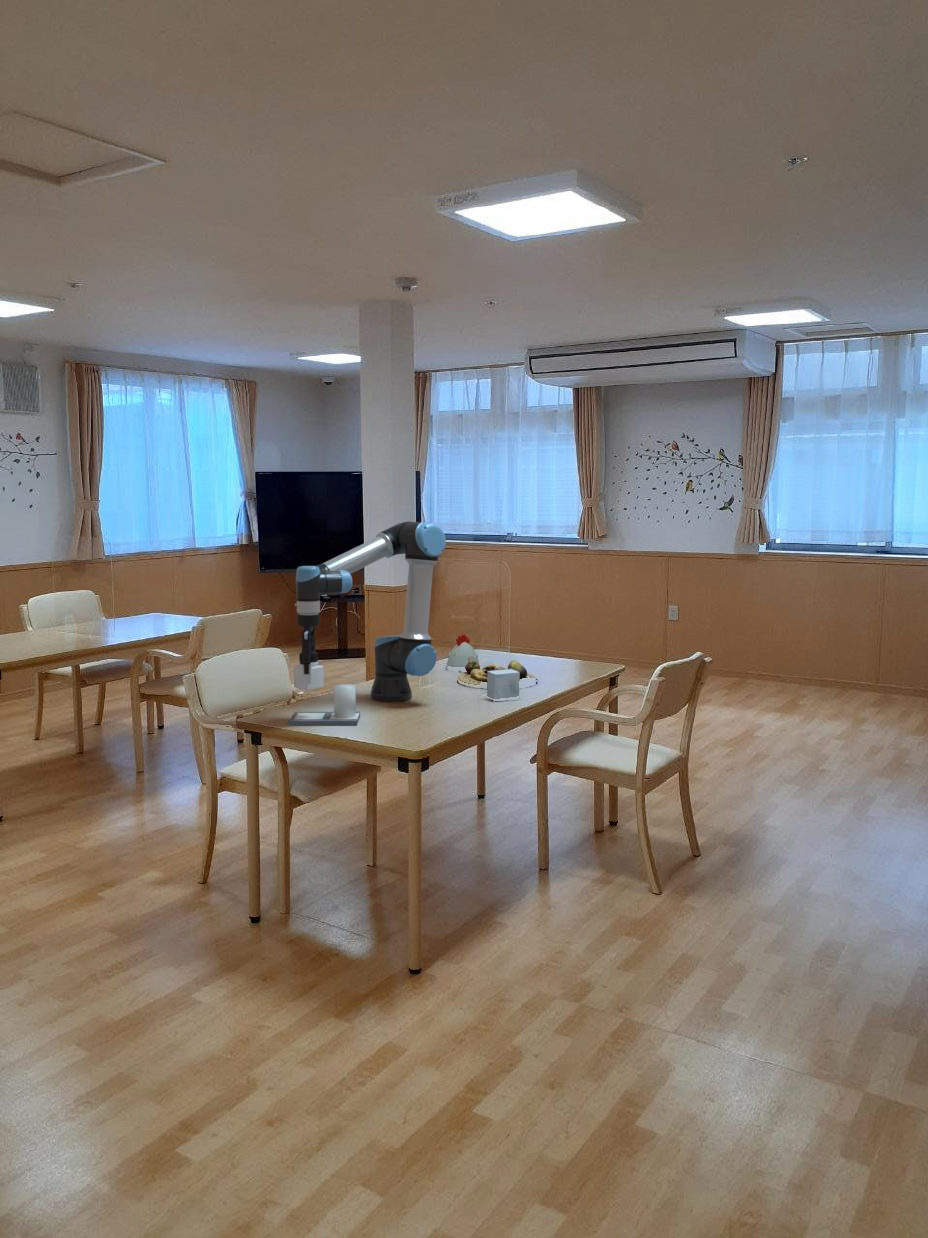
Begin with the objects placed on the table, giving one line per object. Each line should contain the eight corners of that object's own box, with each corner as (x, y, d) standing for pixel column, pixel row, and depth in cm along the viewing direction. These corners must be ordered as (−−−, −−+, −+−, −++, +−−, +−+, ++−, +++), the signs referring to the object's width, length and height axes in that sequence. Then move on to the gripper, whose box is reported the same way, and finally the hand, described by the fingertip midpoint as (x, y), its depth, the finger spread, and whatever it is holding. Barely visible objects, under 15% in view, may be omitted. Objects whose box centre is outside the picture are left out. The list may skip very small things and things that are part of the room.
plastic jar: (356, 713, 339) (356, 684, 338) (354, 718, 332) (354, 688, 331) (335, 713, 339) (335, 683, 338) (332, 717, 332) (332, 687, 331)
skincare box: (494, 702, 366) (494, 673, 364) (486, 699, 372) (486, 670, 370) (520, 700, 370) (520, 671, 369) (511, 696, 376) (511, 668, 375)
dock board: (360, 716, 343) (360, 711, 343) (356, 725, 329) (356, 720, 329) (294, 716, 342) (294, 711, 342) (288, 725, 329) (288, 720, 328)
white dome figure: (440, 669, 431) (440, 634, 429) (461, 665, 442) (461, 631, 440) (465, 673, 422) (465, 638, 420) (486, 669, 433) (486, 634, 431)
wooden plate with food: (441, 680, 408) (441, 660, 407) (503, 671, 426) (504, 652, 425) (489, 695, 382) (489, 674, 381) (553, 685, 401) (554, 664, 400)
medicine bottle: (324, 687, 334) (324, 651, 333) (307, 690, 329) (307, 653, 328) (310, 684, 339) (310, 649, 338) (293, 687, 334) (293, 651, 332)
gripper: (301, 609, 342) (302, 674, 345) (291, 617, 320) (292, 687, 323) (323, 609, 342) (324, 674, 345) (315, 617, 320) (316, 687, 323)
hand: (309, 681), depth 334 cm, fingers closed on medicine bottle, 10 cm apart
